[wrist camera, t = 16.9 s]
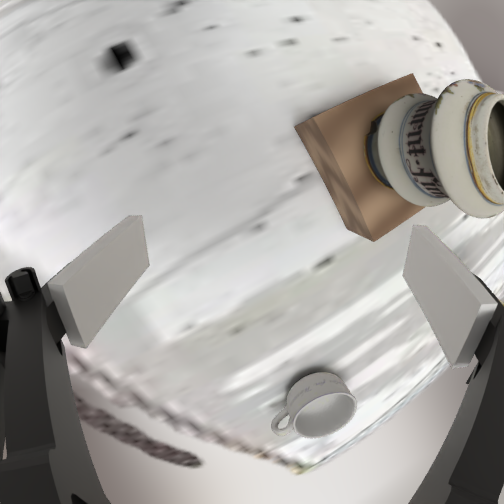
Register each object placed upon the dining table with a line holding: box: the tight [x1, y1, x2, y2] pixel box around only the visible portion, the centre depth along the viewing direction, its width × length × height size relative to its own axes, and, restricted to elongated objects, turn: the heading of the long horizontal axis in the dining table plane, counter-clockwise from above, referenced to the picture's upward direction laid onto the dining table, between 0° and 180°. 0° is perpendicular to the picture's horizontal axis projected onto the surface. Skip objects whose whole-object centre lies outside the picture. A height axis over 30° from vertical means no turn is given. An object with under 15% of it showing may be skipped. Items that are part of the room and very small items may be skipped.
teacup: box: [271, 372, 357, 438], centre depth 45 cm, size 14×11×8 cm
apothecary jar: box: [364, 79, 504, 218], centre depth 24 cm, size 12×12×18 cm
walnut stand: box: [294, 73, 425, 242], centre depth 36 cm, size 16×16×8 cm
